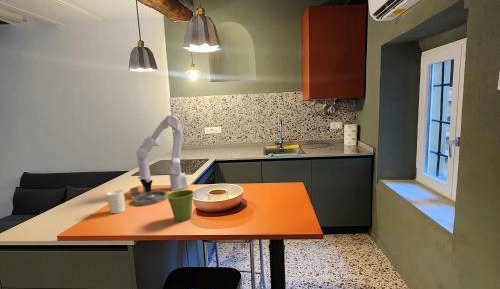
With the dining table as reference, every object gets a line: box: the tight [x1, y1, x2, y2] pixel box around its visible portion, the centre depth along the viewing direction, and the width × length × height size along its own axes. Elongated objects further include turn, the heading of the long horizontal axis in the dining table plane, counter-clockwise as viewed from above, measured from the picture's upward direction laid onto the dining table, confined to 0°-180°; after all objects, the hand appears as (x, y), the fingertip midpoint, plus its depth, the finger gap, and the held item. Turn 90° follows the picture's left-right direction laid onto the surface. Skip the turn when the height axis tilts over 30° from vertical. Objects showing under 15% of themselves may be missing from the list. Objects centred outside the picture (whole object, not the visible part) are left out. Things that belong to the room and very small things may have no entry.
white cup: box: [105, 189, 126, 214], centre depth 146 cm, size 8×8×10 cm
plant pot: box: [166, 189, 195, 222], centre depth 129 cm, size 12×12×11 cm
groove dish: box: [132, 190, 168, 206], centre depth 160 cm, size 18×18×2 cm
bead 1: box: [129, 186, 140, 198], centre depth 169 cm, size 4×4×5 cm
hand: (147, 191), depth 172 cm, fingers closed on bead 2, 4 cm apart
